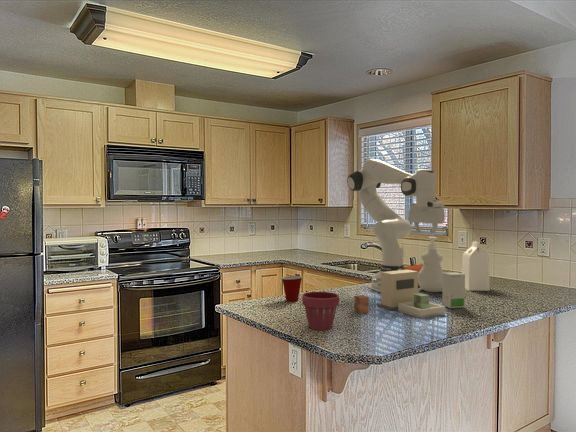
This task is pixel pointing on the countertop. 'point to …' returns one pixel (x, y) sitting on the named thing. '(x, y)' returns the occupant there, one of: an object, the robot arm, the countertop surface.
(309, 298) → the plant pot
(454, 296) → the skincare box
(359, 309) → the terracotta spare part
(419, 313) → the parts tray
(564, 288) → the countertop surface
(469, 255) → the milk
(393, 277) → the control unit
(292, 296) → the plastic cup
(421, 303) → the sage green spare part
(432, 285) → the soap bottle
